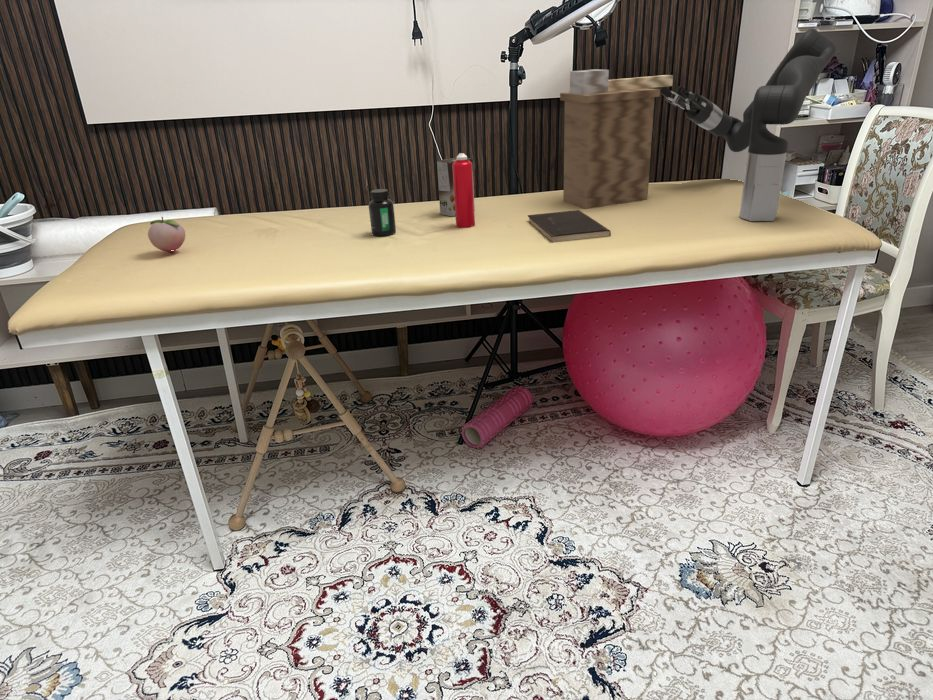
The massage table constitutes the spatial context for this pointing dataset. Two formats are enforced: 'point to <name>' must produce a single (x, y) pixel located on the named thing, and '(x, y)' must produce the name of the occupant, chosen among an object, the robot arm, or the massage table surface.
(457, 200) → the bottle
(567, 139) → the plinth
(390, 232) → the supplement bottle
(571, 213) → the hardcover book
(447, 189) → the coffee box
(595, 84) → the bar
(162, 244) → the decorative fruit
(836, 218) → the massage table surface
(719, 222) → the massage table surface
